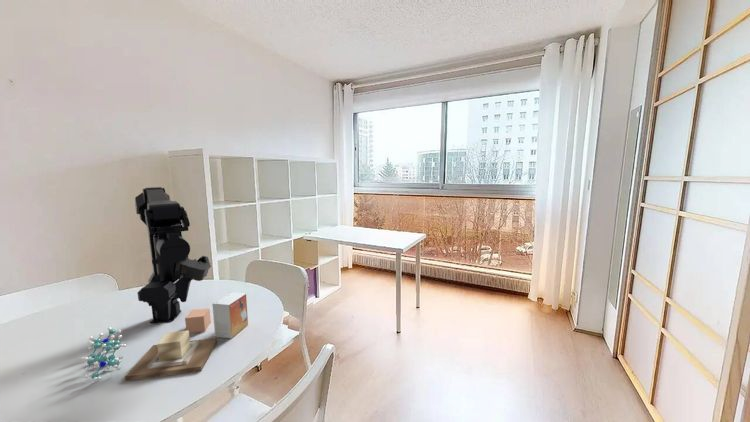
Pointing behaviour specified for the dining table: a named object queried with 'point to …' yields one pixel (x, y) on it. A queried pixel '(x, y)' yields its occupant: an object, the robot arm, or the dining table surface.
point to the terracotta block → (198, 320)
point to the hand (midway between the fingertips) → (175, 310)
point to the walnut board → (173, 361)
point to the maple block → (174, 346)
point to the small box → (230, 315)
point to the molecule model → (99, 357)
